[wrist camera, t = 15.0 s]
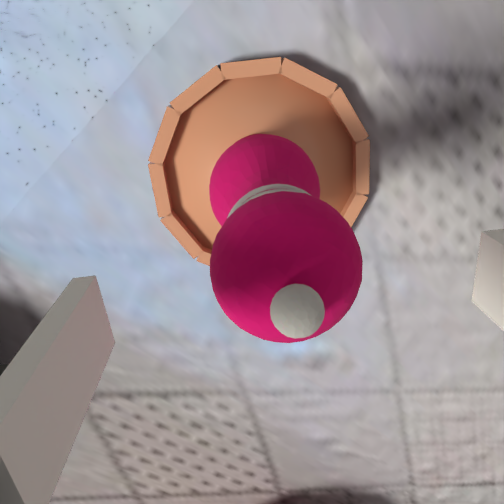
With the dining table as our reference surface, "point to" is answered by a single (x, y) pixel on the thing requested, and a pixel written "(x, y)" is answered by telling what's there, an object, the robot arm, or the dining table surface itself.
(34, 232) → the dining table surface
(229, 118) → the terracotta saucer
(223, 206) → the pepper mill
